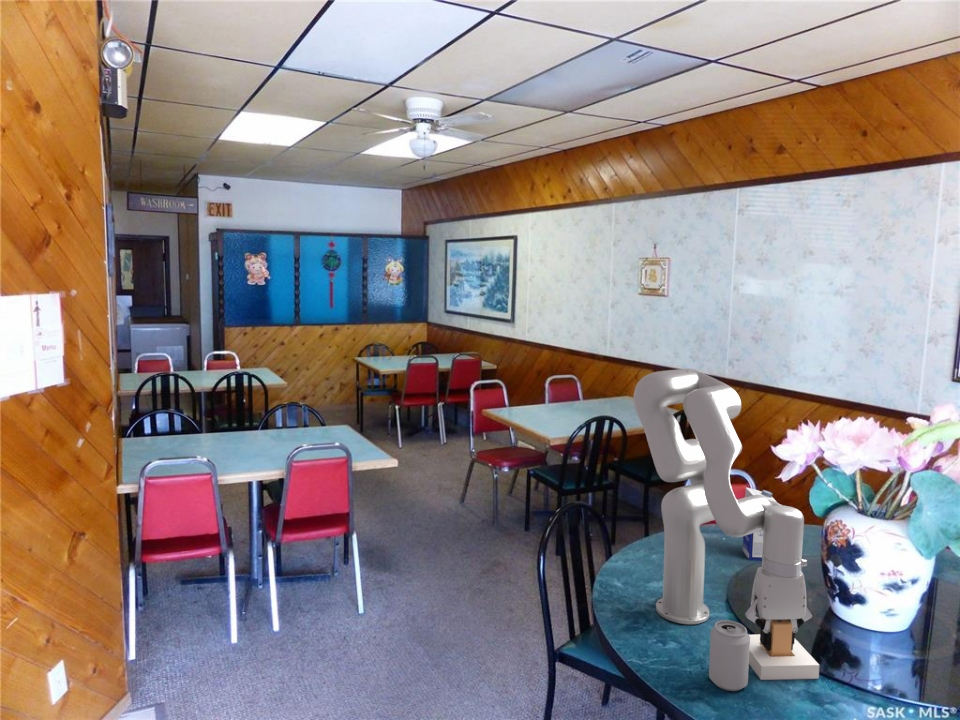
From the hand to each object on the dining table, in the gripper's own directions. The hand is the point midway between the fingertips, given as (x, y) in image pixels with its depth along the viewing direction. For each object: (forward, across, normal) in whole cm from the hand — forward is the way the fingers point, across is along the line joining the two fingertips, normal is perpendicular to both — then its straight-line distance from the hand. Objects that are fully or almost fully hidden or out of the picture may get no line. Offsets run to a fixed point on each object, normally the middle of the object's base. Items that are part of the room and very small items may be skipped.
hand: (776, 646), depth 142 cm
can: (+4, +13, +7) cm, 15 cm away
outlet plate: (+4, 0, 0) cm, 4 cm away
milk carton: (+4, -20, -54) cm, 58 cm away
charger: (+2, 0, 0) cm, 2 cm away
